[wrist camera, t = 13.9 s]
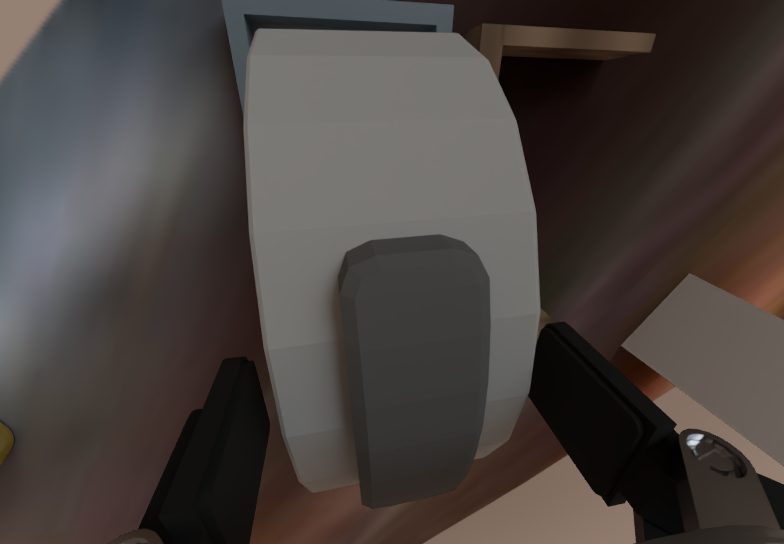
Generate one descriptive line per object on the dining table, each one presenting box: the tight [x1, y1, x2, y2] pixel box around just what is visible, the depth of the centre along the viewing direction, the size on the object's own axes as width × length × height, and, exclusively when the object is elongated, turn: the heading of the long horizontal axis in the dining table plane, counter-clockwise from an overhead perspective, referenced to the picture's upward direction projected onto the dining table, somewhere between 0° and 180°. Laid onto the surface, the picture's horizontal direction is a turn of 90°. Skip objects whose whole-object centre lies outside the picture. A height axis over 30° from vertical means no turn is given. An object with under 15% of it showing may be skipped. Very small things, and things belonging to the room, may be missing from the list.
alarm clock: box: [243, 29, 540, 509], centre depth 17 cm, size 21×8×20 cm, turn 1°
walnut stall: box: [461, 23, 656, 339], centre depth 27 cm, size 12×25×4 cm, turn 0°
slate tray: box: [222, 0, 454, 118], centre depth 25 cm, size 13×27×3 cm, turn 0°
